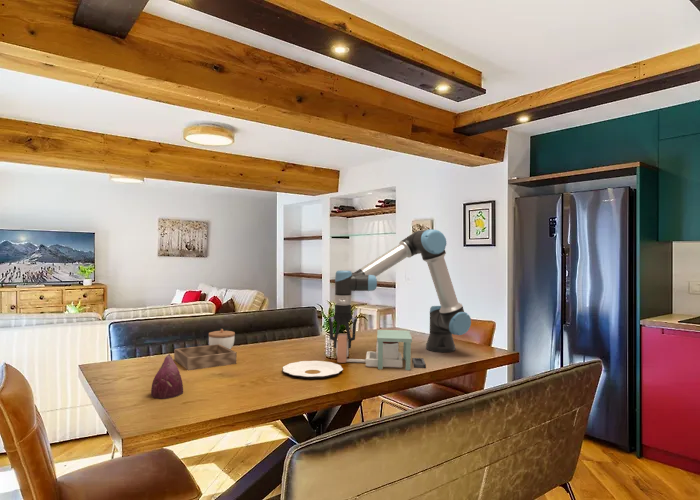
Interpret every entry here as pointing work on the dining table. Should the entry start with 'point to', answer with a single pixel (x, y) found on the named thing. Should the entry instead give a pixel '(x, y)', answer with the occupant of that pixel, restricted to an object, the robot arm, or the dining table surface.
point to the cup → (389, 350)
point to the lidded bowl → (222, 338)
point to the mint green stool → (394, 337)
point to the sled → (370, 355)
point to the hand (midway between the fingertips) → (342, 355)
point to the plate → (302, 366)
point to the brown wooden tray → (204, 356)
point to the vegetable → (167, 381)
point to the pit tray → (418, 363)
